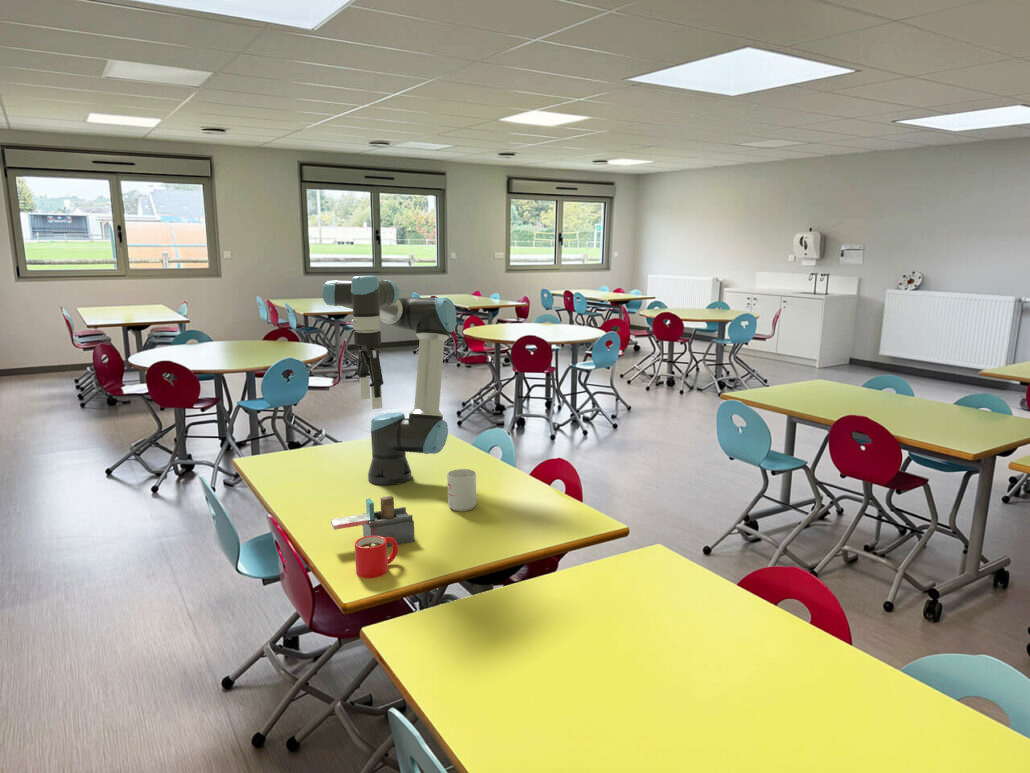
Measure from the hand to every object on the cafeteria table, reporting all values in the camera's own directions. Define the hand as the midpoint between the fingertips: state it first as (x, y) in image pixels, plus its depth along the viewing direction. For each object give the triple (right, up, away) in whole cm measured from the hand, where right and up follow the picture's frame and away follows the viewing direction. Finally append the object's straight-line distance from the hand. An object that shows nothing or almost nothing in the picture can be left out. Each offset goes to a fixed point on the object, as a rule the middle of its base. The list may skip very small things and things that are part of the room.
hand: (371, 403), depth 203 cm
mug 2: (+24, -33, +18) cm, 45 cm away
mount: (+6, -38, -8) cm, 39 cm away
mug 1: (+7, -42, -25) cm, 49 cm away
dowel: (+6, -38, -8) cm, 39 cm away
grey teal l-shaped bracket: (-2, -32, -13) cm, 35 cm away
